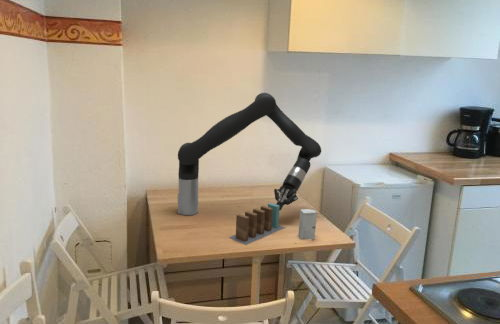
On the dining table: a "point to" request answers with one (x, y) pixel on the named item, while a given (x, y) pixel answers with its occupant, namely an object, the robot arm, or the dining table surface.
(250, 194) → the dining table surface
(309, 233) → the skincare box
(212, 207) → the dining table surface
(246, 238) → the domino
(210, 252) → the dining table surface
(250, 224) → the domino
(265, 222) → the domino
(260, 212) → the domino
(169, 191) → the dining table surface
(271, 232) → the domino mat
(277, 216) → the domino
